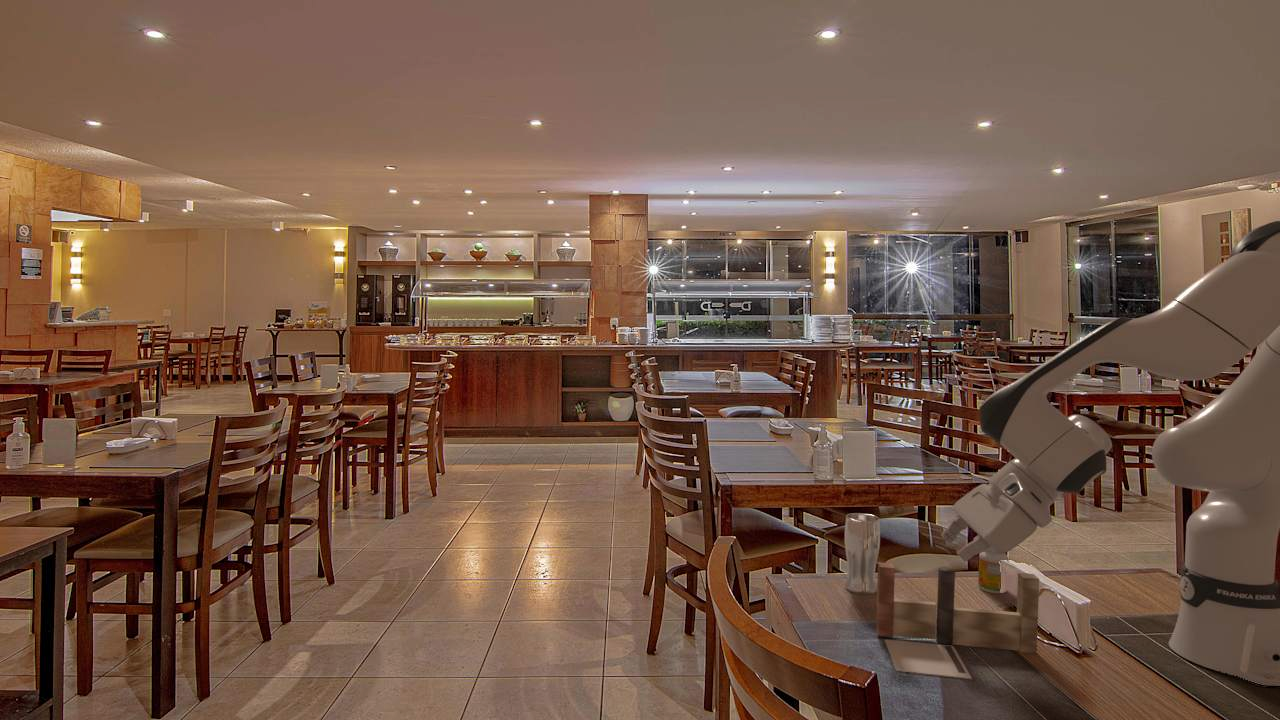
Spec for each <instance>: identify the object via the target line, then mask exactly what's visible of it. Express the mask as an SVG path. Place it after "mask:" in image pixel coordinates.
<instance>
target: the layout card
mask: <svg viewBox="0 0 1280 720" xmlns="http://www.w3.org/2000/svg"><path fill="white" fill-rule="evenodd" d="M884 642H885V645H886V648H887V650H889V651H888V653H890V654H889V656H890V655H891V656H890V658H892V659H891V661H893V662H892V664H893V663H894V664H893V666H895V667H894V669H897V671H898V669H899V671H904V672H903V673H905V672H910V673H909V674H915V673H916V674H917V675H923V676H924V675H925V676H926V675H928V676H936V677H945V678H955V679H965V680H973V677H972V676H971V673H969V670H968V669H967V667H966V665H965V663H964V662H963V660H962V658H961V657H960V655H959V653H958V651H957V650H956V648H955V647H954V645H950V646H949V645H941V644H939V643H937V644H936V643H927V642H926V643H925V642H917V641H916V642H915V641H904V640H895V639H885V638H884ZM899 667H900V668H899Z"/></svg>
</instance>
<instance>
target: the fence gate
mask: <svg viewBox="0 0 1280 720" xmlns="http://www.w3.org/2000/svg"><path fill="white" fill-rule="evenodd" d="M895 569H896V568H895V565H894V563H890V562H889V563H888V562H879V561H878V562H877V582H876V619H875V621H876V622H875V623H876V626H875V627H876V628H875V629H876V633H877V636H879V637H889V638H891V637H892V638H894V637H895V636H897V637H905V638H906V637H908V638H917V639H918V638H919V639H928V640H936V631H937V602H935V601H927V600H926V601H924V600H913V599H903V598H901V599H900V598H895V582H896V581H895V577H896V576H895V575H896V574H895V571H896V570H895Z"/></svg>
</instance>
